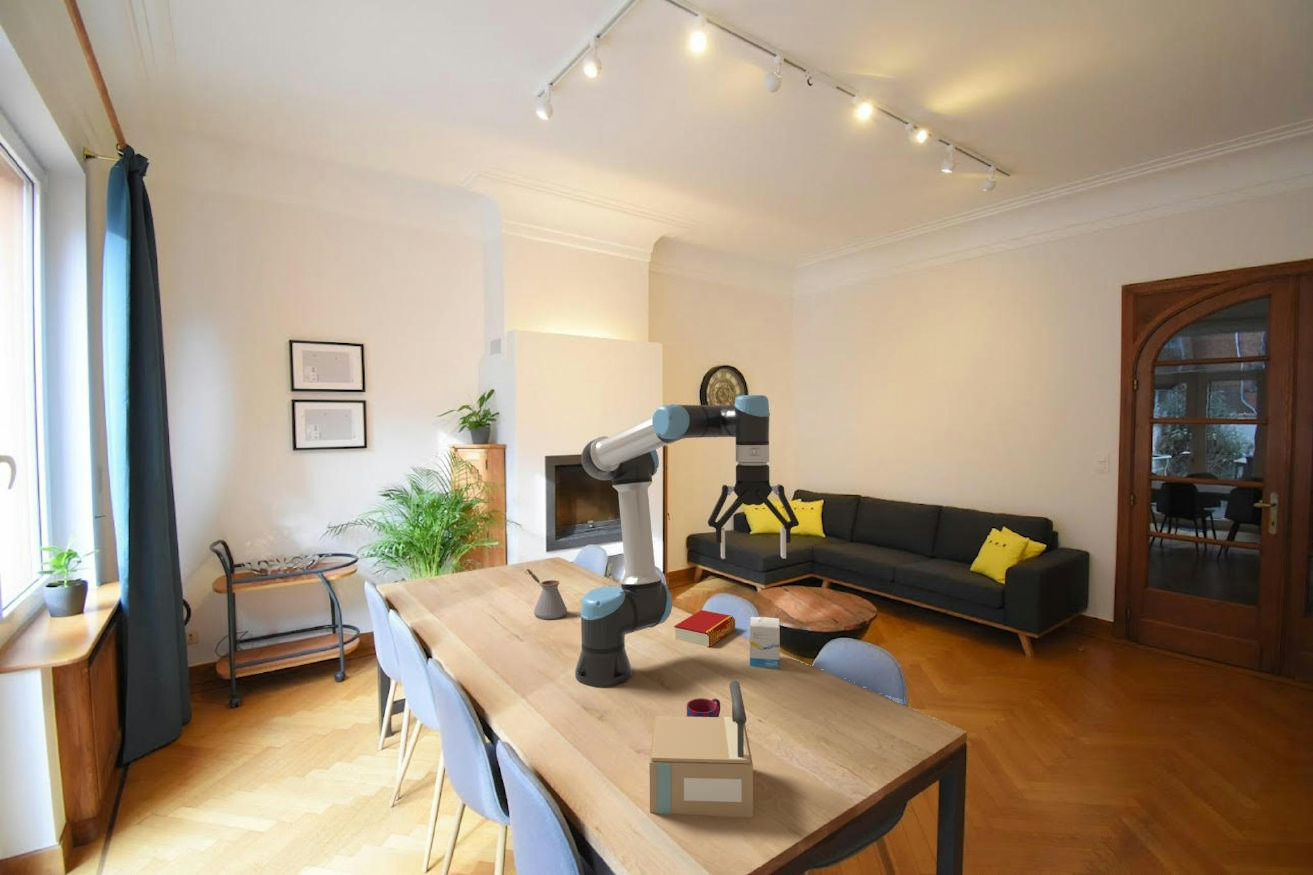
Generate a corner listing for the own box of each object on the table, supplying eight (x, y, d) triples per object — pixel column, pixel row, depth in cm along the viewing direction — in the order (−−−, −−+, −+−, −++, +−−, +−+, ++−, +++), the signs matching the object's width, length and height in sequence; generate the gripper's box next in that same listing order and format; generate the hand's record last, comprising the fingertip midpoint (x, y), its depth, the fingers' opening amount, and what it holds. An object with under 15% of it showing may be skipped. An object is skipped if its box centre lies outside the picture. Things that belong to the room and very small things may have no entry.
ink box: (779, 669, 163) (779, 627, 163) (749, 666, 165) (749, 625, 165) (779, 656, 172) (779, 617, 171) (750, 654, 173) (750, 615, 173)
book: (710, 649, 178) (710, 633, 178) (674, 641, 185) (674, 625, 185) (735, 631, 193) (735, 616, 193) (701, 624, 200) (701, 609, 200)
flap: (651, 761, 102) (651, 713, 102) (655, 718, 117) (655, 677, 117) (749, 763, 102) (749, 716, 101) (742, 720, 116) (741, 679, 116)
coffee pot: (573, 618, 205) (573, 576, 205) (545, 627, 197) (544, 583, 197) (540, 605, 221) (540, 565, 220) (513, 612, 213) (513, 571, 212)
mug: (680, 735, 129) (680, 705, 129) (710, 719, 136) (710, 690, 136) (702, 747, 124) (702, 716, 124) (732, 730, 131) (732, 700, 131)
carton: (649, 819, 102) (649, 763, 102) (654, 767, 117) (654, 718, 117) (753, 822, 101) (753, 765, 101) (744, 769, 116) (744, 720, 116)
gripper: (697, 465, 128) (698, 561, 129) (812, 464, 127) (812, 561, 128) (696, 463, 136) (697, 553, 136) (804, 462, 135) (804, 553, 135)
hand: (753, 557), depth 132 cm, fingers open, 13 cm apart
